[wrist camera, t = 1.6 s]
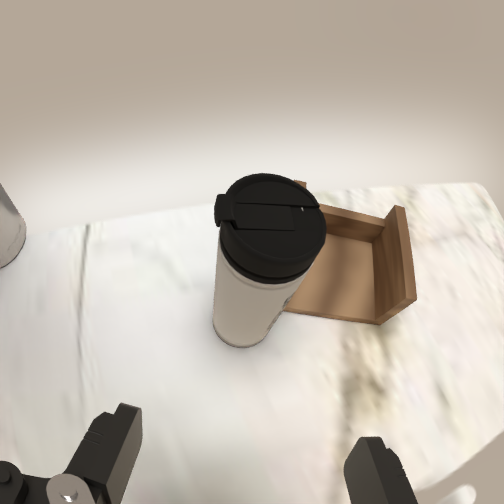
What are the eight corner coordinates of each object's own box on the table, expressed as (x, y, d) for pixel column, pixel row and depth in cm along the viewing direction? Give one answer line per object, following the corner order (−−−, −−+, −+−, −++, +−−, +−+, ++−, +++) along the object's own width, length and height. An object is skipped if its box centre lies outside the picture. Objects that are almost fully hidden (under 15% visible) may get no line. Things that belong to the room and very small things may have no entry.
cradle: (269, 308, 35) (285, 277, 28) (279, 221, 41) (294, 179, 34) (380, 324, 36) (417, 299, 29) (376, 242, 42) (404, 207, 35)
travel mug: (208, 294, 35) (214, 164, 18) (266, 293, 36) (321, 168, 19) (210, 349, 32) (216, 259, 15) (272, 346, 33) (346, 257, 16)
